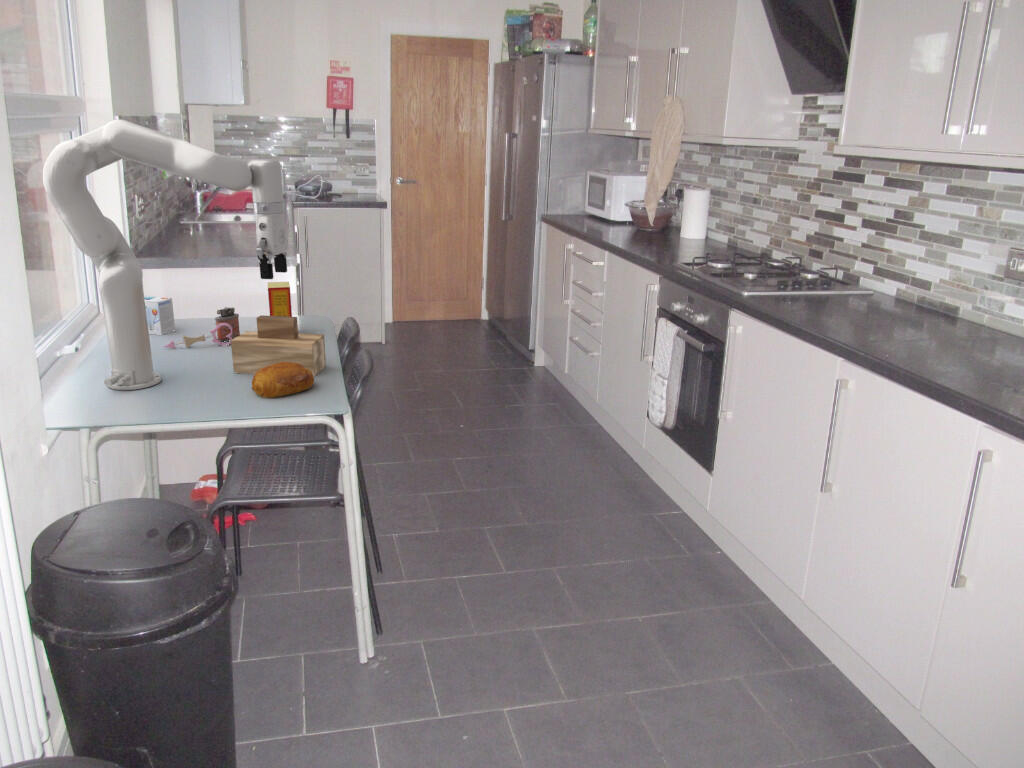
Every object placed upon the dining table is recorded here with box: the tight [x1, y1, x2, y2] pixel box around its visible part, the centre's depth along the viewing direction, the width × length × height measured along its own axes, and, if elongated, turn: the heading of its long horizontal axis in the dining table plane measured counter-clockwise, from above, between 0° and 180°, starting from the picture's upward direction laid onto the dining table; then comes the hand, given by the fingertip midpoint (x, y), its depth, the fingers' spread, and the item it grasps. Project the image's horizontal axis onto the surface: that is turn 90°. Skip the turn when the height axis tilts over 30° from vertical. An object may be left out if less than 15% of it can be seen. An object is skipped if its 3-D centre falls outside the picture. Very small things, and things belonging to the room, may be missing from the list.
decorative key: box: [163, 323, 232, 349], centre depth 242 cm, size 7×1×20 cm
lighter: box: [214, 307, 241, 343], centre depth 249 cm, size 8×3×10 cm, turn 149°
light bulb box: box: [144, 295, 176, 336], centre depth 257 cm, size 11×7×11 cm, turn 73°
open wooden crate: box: [230, 338, 327, 377], centre depth 220 cm, size 10×22×8 cm, turn 84°
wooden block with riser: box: [230, 315, 325, 348], centre depth 218 cm, size 10×22×8 cm, turn 84°
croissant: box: [251, 362, 315, 399], centre depth 205 cm, size 14×16×8 cm
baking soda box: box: [267, 281, 293, 317], centre depth 256 cm, size 10×6×16 cm
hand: (274, 275), depth 214 cm, fingers open, 9 cm apart
